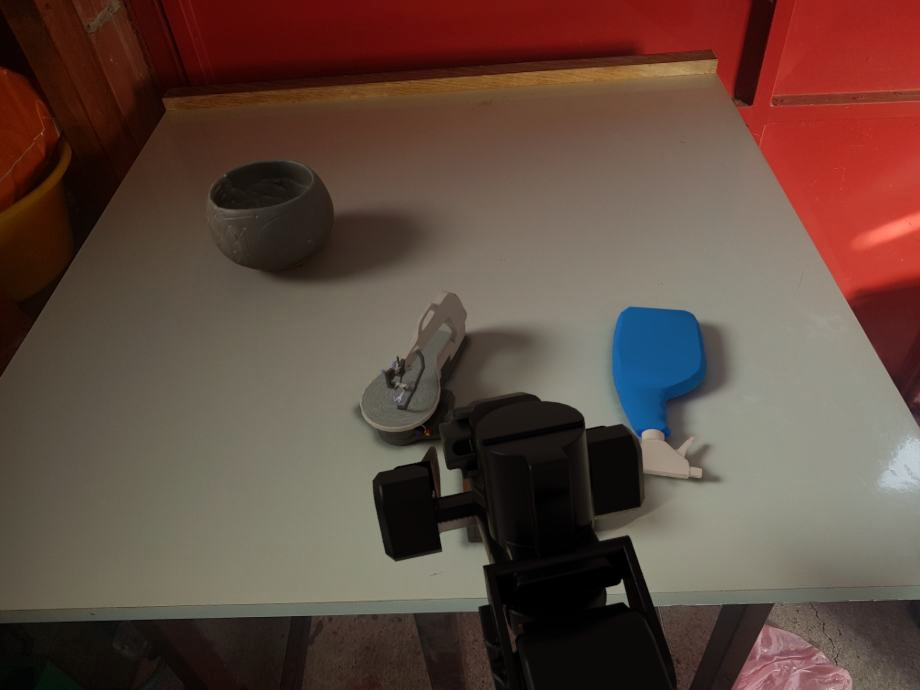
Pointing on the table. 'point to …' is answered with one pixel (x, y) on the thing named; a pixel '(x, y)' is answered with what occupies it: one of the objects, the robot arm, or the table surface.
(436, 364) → the scroll saw
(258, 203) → the bowl
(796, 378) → the table surface
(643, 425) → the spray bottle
